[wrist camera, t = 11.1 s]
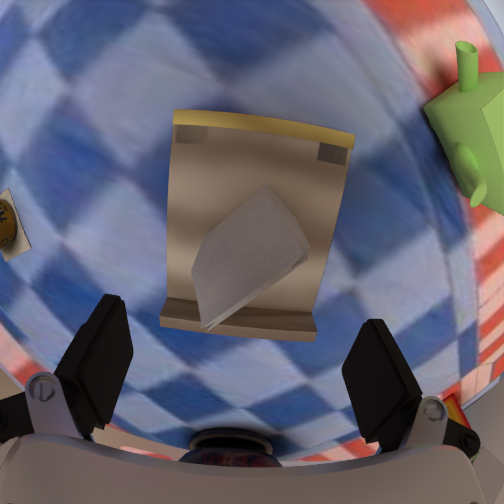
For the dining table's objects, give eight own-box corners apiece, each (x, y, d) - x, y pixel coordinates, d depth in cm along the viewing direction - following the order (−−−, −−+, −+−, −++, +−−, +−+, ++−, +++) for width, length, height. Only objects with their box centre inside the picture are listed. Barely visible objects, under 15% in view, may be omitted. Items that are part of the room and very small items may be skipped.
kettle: (486, 205, 24) (548, 240, 14) (404, 187, 24) (477, 226, 14) (497, 94, 18) (563, 101, 8) (413, 49, 18) (487, 28, 8)
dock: (184, 111, 21) (163, 106, 16) (342, 133, 22) (369, 136, 17) (174, 290, 29) (160, 326, 23) (303, 304, 30) (314, 341, 24)
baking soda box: (457, 403, 45) (480, 450, 30) (435, 418, 46) (456, 466, 32) (452, 392, 42) (479, 446, 27) (428, 409, 43) (452, 464, 29)
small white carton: (204, 236, 23) (177, 308, 14) (266, 183, 21) (280, 226, 12) (233, 266, 24) (226, 348, 15) (295, 217, 22) (326, 281, 13)
